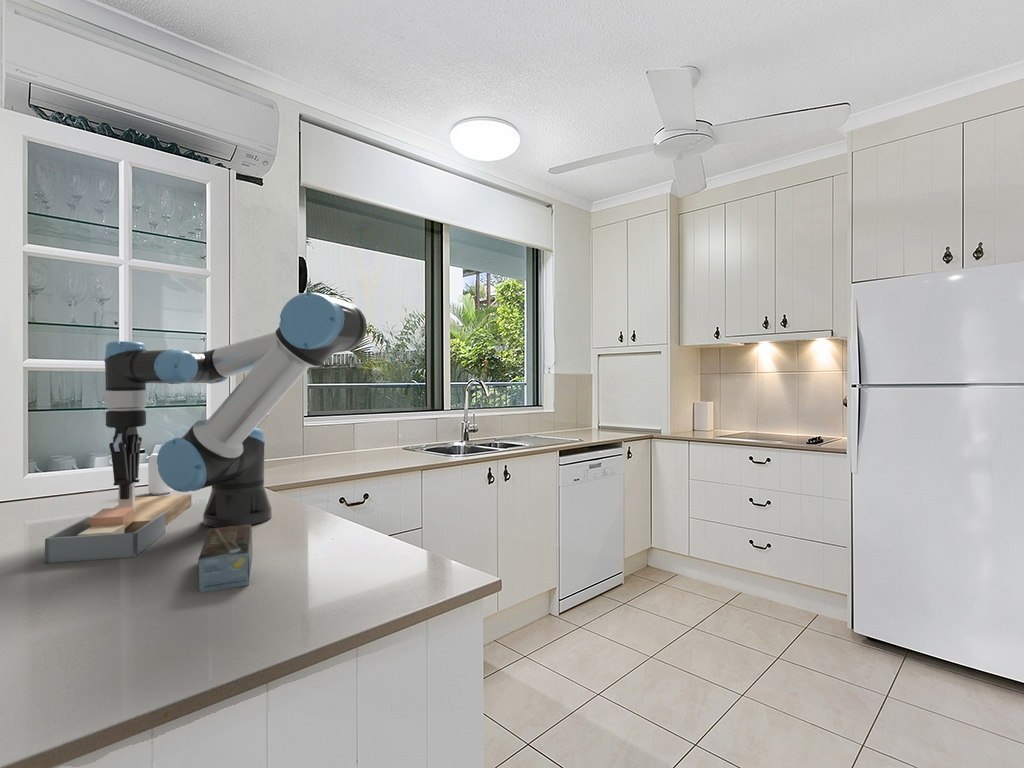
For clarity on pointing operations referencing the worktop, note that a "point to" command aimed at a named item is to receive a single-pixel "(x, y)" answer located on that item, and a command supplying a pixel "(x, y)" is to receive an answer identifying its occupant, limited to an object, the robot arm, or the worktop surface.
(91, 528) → the sand tile
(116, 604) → the worktop surface
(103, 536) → the tray
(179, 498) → the oak board
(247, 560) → the beverage carton
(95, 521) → the terracotta tile
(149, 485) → the beverage can
